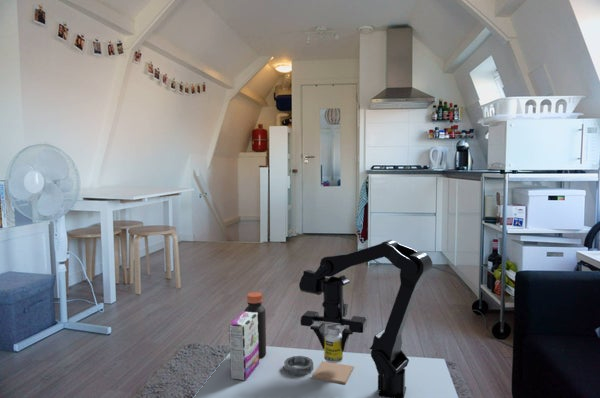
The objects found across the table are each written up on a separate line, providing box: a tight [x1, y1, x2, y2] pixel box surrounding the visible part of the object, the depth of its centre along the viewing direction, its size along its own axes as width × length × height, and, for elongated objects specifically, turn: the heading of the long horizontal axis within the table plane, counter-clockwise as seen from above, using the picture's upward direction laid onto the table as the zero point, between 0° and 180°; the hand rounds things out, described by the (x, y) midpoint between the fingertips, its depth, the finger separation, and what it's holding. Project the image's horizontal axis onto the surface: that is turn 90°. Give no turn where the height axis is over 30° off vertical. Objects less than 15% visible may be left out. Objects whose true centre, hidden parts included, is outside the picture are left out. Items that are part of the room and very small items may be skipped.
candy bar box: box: [228, 311, 260, 382], centre depth 124 cm, size 11×5×16 cm, turn 164°
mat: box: [311, 360, 355, 385], centre depth 124 cm, size 10×10×1 cm
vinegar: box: [244, 291, 267, 360], centre depth 135 cm, size 7×7×20 cm
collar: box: [283, 355, 314, 377], centre depth 126 cm, size 8×8×2 cm
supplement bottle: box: [323, 324, 344, 364], centre depth 123 cm, size 5×5×10 cm
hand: (333, 349), depth 123 cm, fingers closed on supplement bottle, 5 cm apart
